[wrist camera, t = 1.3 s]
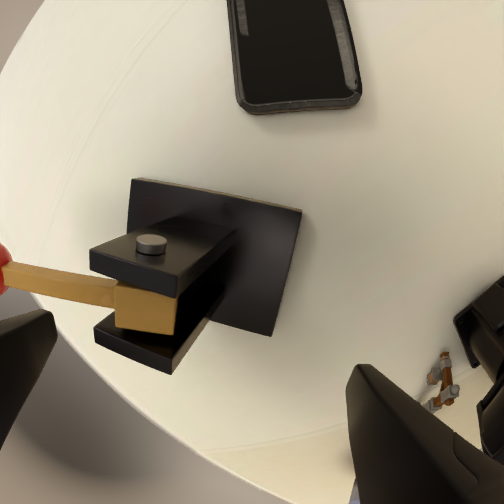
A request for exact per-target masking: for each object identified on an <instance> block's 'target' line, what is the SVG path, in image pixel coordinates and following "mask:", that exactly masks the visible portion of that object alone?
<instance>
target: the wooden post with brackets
mask: <svg viewBox="0 0 504 504" xmlns="http://www.w3.org/2000/svg"><path fill="white" fill-rule="evenodd" d="M440 358H441V363H440V366H441V368H437V369H432V373H431V374H429V375H427V379H428V381H427V383H428V385H436V384H437V382H438V381H439V380H442V384H441V389H440V393H439V395H438V396H437V397H433V398H431V399H430V400H428V402H427V403H425V404H423V407H424V408H426V409H427V410H428V411H429V412H431V413H432V414H433V413H434V412H435V411H437V410H439V409H441V408H442V405H444V404H445V405H447V406H449V405H451V404H453V403H454V399H455V398H456V397H458V396H459V390H460V387H459V386H458V385H453V381H452V373H451V367H452V364H451V359H449V358H450V356H449V352H443V353H442V354H441V355H440Z"/></svg>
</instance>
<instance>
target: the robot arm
mask: <svg viewBox="0 0 504 504" xmlns="http://www.w3.org/2000/svg"><path fill="white" fill-rule="evenodd" d="M460 319H461V321H460V322H458V321H459V320H460ZM453 322H454V325H455V327H456V330H457V332H458V334H459V337H460V339H461V342H462V344H463V347H464V349H465V352H466V355H467V357H468V360H469V363H470V365H471V367H472V368H476V367H478V366H479V365H482V366H483V368H484V369H485V371H486V372H487V374H488V375H489V377H490V379H491V380H492V382H493V383H494V385H493V387H492V388H491V389H490V391H489V392H488V393H487V395H486V396H485V397H484V399H483V400H481V401H480V402H479V403H478V405H477V406H476V407H477V414H478V420H479V428H480V437H481V444H482V448H483V452H484V453H483V452H482V451H480V450H479V449H477V448H476V447H474V446H473V445H472V444H470V443H469V442H468V441H466V440H465V439H464V438H462V437H461V436H460V435H459V434H457V433H456V432H454V431H453V430H452V429H451V428H450V427H448V426H447V425H446V424H444V423H443V422H442V421H441V420H439V419H438V418H437V417H436V416H434V415H433V414H432V413H431V412H429V411H428V410H427V409H426V408H424V407H423V406H422V405H420V404H419V403H418V402H417V401H415V400H414V399H413V398H412V397H410V396H409V395H408V394H407V393H405V392H404V391H403V390H402V389H400V388H399V387H398V386H397V385H395V384H394V383H393V382H392V381H390V380H389V379H388V378H387V377H385V376H384V375H383V374H382V373H381V372H379V371H378V370H377V369H376V368H374V367H373V366H372V365H370V364H357V365H356V366H355V367H354V369H353V372H352V374H351V376H350V379H349V381H348V383H347V386H346V403H347V416H348V431H349V440H350V446H351V451H352V457H353V463H354V468H355V474H356V480H357V487H358V493H359V500H360V504H504V276H503V277H502V278H501V279H499V280H498V281H497V282H496V283H495V284H494V285H493V286H492V287H490V288H489V289H488V290H487V291H486V292H485V293H483V294H482V295H481V296H480V297H479V298H478V299H476V300H475V301H474V302H473V303H471V304H470V305H469V306H468V307H466V308H465V309H464V310H463V311H461V312H460V313H459V314H457V315H456V316H455V318H454V320H453ZM57 336H58V334H57V330H56V325H55V321H54V316H53V314H52V313H51V312H50V311H47V310H44V309H38V310H35V311H32V312H28V313H25V314H22V315H18V316H15V317H11V318H8V319H4V320H1V321H0V450H1V448H2V445H3V443H4V441H5V439H6V437H7V435H8V433H9V431H10V429H11V427H12V425H13V423H14V421H15V419H16V417H17V416H18V414H19V412H20V410H21V408H22V406H23V404H24V403H25V401H26V399H27V397H28V395H29V394H30V392H31V390H32V388H33V387H34V385H35V383H36V382H37V380H38V378H39V376H40V374H41V372H42V370H43V368H44V366H45V364H46V361H47V359H48V357H49V355H50V353H51V351H52V349H53V347H54V345H55V343H56V341H57ZM475 362H476V363H475Z"/></svg>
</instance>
